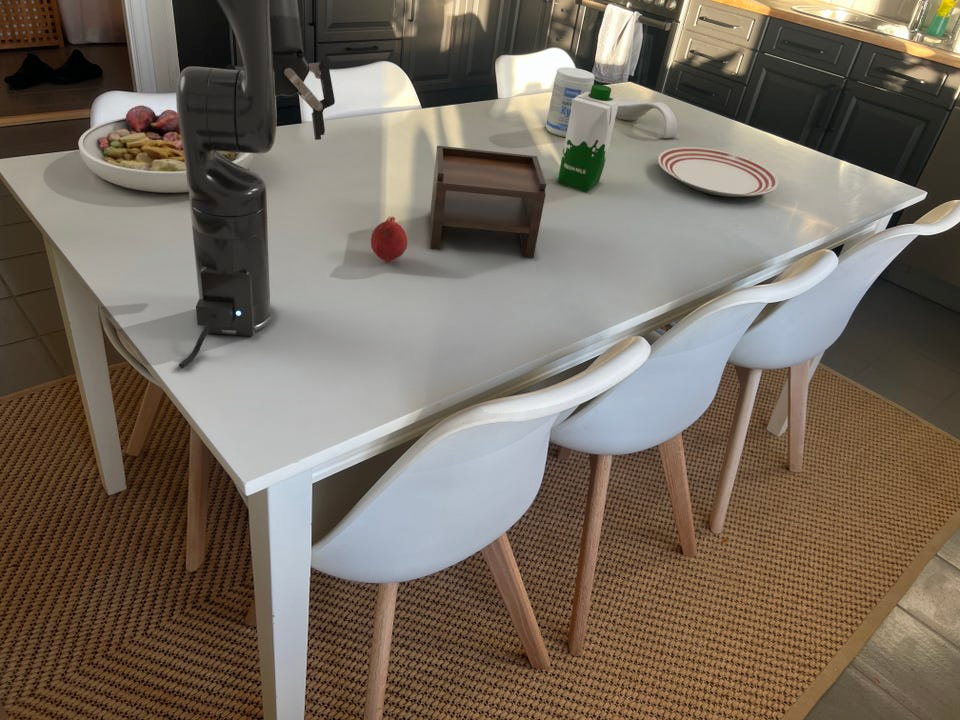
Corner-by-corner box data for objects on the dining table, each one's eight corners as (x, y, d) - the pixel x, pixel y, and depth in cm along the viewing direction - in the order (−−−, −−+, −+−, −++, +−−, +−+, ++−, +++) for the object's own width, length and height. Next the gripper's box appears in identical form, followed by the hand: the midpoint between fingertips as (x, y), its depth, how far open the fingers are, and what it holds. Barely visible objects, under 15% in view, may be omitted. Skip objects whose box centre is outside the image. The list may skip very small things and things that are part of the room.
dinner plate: (728, 215, 159) (733, 200, 157) (631, 168, 175) (634, 154, 173) (796, 194, 175) (801, 181, 173) (701, 153, 191) (705, 140, 189)
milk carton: (603, 183, 165) (625, 90, 154) (589, 195, 158) (611, 99, 147) (567, 172, 168) (586, 80, 156) (551, 183, 161) (569, 88, 150)
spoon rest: (594, 111, 209) (600, 85, 205) (624, 108, 216) (631, 82, 211) (655, 141, 194) (662, 113, 190) (685, 137, 201) (693, 110, 196)
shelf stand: (533, 258, 131) (547, 186, 124) (430, 248, 129) (437, 175, 122) (525, 223, 143) (537, 155, 135) (430, 214, 140) (436, 145, 133)
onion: (399, 273, 121) (403, 227, 116) (365, 266, 121) (367, 220, 117) (409, 257, 125) (413, 213, 121) (376, 250, 126) (378, 206, 121)
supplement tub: (558, 139, 185) (570, 78, 177) (538, 126, 192) (548, 66, 184) (590, 137, 190) (603, 77, 181) (569, 124, 196) (581, 66, 188)
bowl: (284, 181, 144) (283, 141, 140) (127, 213, 125) (120, 168, 121) (206, 130, 160) (203, 93, 156) (56, 152, 141) (48, 110, 137)
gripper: (215, 14, 97) (235, 145, 102) (326, 11, 101) (341, 137, 105) (216, 23, 104) (235, 145, 109) (321, 20, 108) (335, 138, 112)
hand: (287, 141), depth 107 cm, fingers open, 8 cm apart
